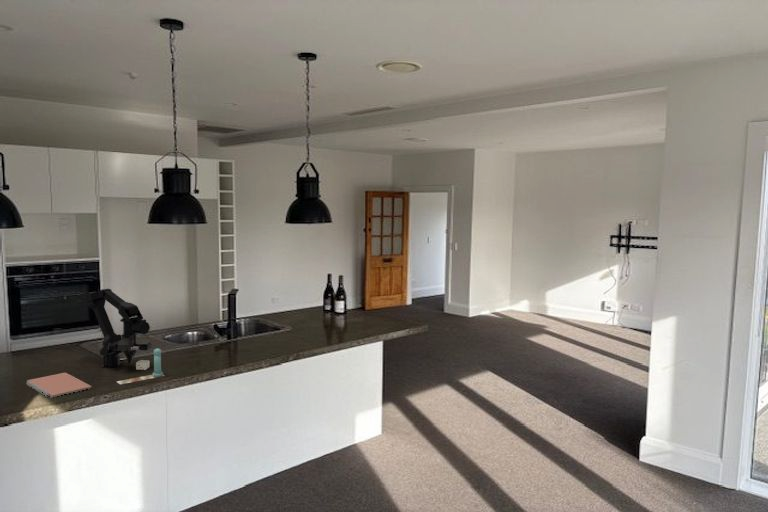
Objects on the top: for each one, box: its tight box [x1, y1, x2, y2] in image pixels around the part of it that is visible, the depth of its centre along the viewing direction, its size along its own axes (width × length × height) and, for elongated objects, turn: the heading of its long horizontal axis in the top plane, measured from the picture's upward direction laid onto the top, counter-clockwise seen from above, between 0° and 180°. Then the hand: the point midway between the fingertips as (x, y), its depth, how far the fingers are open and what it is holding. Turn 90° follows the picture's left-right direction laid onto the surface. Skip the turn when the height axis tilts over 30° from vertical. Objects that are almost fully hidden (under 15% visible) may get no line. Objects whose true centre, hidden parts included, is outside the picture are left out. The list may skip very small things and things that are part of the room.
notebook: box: [26, 372, 92, 399], centre depth 238 cm, size 27×17×2 cm, turn 52°
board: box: [116, 374, 165, 385], centre depth 247 cm, size 21×6×2 cm, turn 135°
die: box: [135, 359, 150, 371], centre depth 262 cm, size 5×5×5 cm
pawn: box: [152, 348, 164, 378], centre depth 252 cm, size 4×4×13 cm
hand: (130, 363), depth 262 cm, fingers closed
